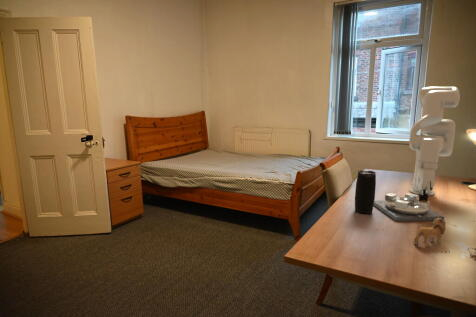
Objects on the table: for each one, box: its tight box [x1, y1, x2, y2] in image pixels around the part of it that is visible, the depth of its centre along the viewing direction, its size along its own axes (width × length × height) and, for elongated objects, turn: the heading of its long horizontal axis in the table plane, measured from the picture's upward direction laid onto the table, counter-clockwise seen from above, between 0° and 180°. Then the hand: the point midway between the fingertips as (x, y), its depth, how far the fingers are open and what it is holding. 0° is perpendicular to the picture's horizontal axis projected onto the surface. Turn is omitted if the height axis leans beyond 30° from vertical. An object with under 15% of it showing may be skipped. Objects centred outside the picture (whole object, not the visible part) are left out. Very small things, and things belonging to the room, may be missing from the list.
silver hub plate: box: [384, 192, 431, 215], centre depth 145 cm, size 18×18×5 cm
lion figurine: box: [413, 218, 446, 248], centre depth 113 cm, size 15×5×9 cm, turn 118°
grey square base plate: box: [373, 200, 445, 222], centre depth 146 cm, size 22×22×2 cm
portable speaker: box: [354, 170, 377, 215], centre depth 144 cm, size 9×9×20 cm
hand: (422, 202), depth 144 cm, fingers closed
